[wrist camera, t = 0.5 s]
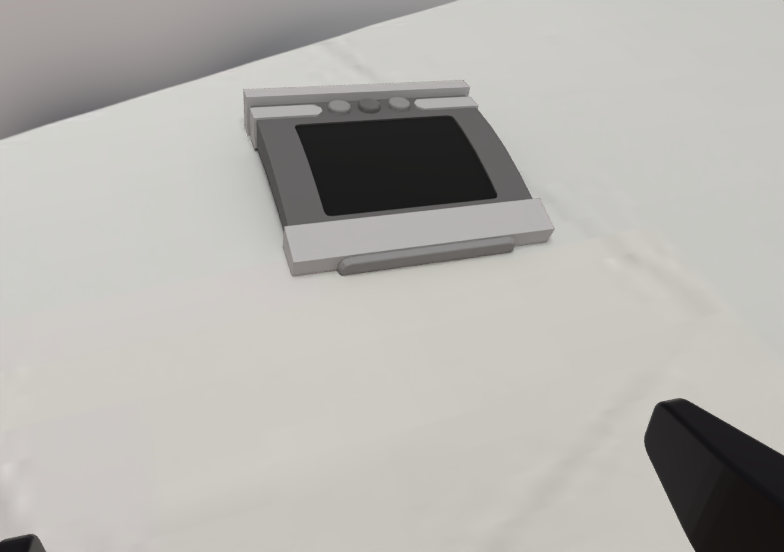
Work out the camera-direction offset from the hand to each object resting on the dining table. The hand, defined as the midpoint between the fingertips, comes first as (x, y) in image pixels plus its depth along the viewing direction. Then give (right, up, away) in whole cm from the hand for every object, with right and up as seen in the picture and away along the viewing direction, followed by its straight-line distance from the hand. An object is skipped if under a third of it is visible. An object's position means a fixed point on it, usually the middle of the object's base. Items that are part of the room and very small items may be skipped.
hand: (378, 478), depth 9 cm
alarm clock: (0, +9, +37) cm, 38 cm away
